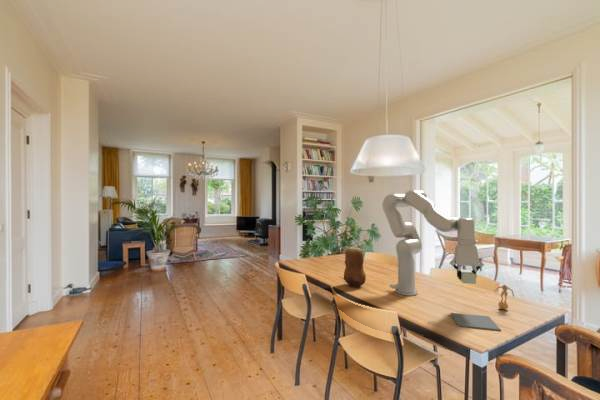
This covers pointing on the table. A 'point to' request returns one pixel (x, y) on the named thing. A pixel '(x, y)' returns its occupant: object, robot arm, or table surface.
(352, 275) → the brown tall rounded piece
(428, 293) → the table surface
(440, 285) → the table surface
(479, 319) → the mat
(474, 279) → the card box
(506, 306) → the figurine
